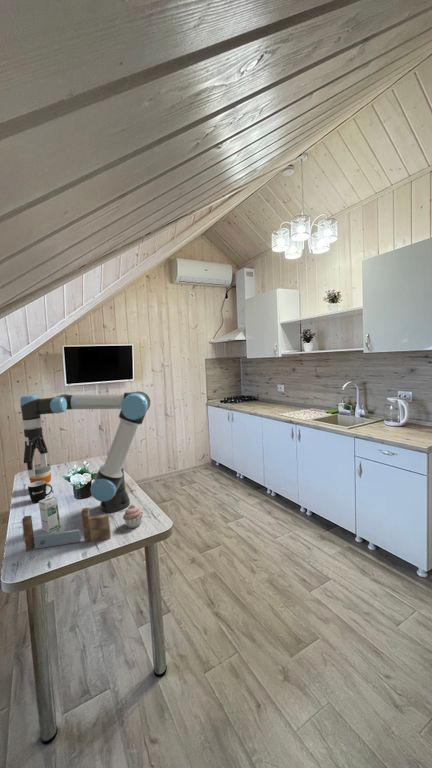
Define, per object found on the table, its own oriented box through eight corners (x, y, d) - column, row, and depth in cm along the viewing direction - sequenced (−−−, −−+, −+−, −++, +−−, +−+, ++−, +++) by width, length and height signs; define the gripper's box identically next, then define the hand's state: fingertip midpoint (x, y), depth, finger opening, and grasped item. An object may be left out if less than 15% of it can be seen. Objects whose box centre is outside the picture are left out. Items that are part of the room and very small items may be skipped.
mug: (29, 505, 178) (27, 488, 177) (30, 499, 186) (28, 483, 185) (53, 499, 184) (51, 482, 183) (53, 494, 192) (51, 478, 191)
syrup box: (48, 533, 146) (45, 502, 145) (41, 530, 149) (38, 500, 148) (60, 527, 151) (57, 497, 150) (53, 524, 154) (50, 495, 153)
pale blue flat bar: (80, 540, 137) (79, 529, 137) (79, 543, 135) (78, 531, 135) (36, 546, 135) (34, 535, 134) (34, 549, 133) (32, 538, 132)
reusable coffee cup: (57, 487, 203) (54, 464, 201) (37, 495, 192) (34, 471, 191) (46, 484, 209) (43, 462, 208) (26, 492, 199) (23, 468, 198)
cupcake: (125, 532, 142) (123, 511, 141) (122, 523, 150) (120, 502, 150) (145, 526, 146) (144, 505, 145) (142, 518, 154) (140, 498, 153)
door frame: (111, 535, 140) (107, 505, 139) (110, 538, 137) (106, 507, 136) (28, 547, 135) (24, 516, 134) (26, 551, 132) (22, 519, 131)
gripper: (35, 423, 162) (40, 463, 164) (10, 434, 138) (17, 481, 139) (51, 422, 163) (56, 462, 165) (29, 432, 139) (35, 479, 140)
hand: (38, 471), depth 152 cm, fingers open, 13 cm apart
